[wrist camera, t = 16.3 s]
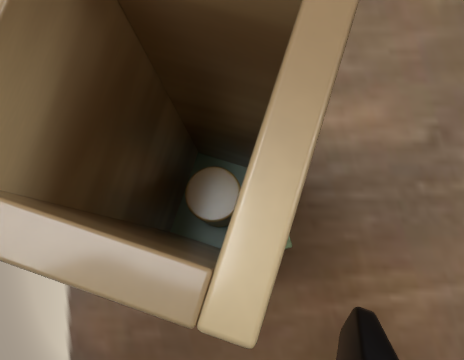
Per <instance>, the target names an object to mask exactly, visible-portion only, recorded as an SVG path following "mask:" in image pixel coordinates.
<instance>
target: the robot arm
mask: <svg viewBox="0 0 464 360" xmlns="http://www.w3.org/2000/svg"><path fill="white" fill-rule="evenodd" d="M336 360H399V359H398V357H397V355H396V353H395V351H394V349H393V347H392V345H391V344H390V342H389V340H388V338H387V336H386V334H385V332H384V330H383V328H382V326H381V324H380V322H379V320H378V318H377V316H376V315H375V314H374V312H372V311H370V310H367V309H364V308H361V307H355V308H354V309H353V310H352V312H351V313H350V315H349V317H348V318H347V320H346V322H345V323H344V325H343V327H342V329H341V332H340V337H339V344H338V351H337V358H336Z"/></svg>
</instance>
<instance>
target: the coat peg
mask: <svg viewBox="0 0 464 360" xmlns="http://www.w3.org/2000/svg"><path fill="white" fill-rule="evenodd" d="M246 170H247V167H243V166H240V165H237V164H234V163H230V162H227V161H224V160H221V159H217V158H214V157H211V156H208V155H204V154H201V153H199V152H198V154H197V157H196V160H195V163H194V165H193V168H192V171H191V174H190V177H189V180H188V183H187V185H186V188H185V191H184V194H183V197H182V200H181V203H180V205H179V208H178V211H177V214H176V217H175V220H174V223H173V225H172V228H171V231H170V232H173V233H176V234H179V235H182V236H185V237H188V238H191V239H194V240H197V241H200V242H203V243H206V244H209V245H212V246H215V247H218V248H221V247H222V244H223V241H224V238H225V235H226V232H227V229H228V226H229V223H230V219H231V216H232V213H233V210H234V207H235V204H236V201H237V198H238V195H239V192H240V189H241V186H242V183H243V180H244V177H245V174H246ZM291 247H292V244H291V240H290V236H289V237H288V240H287V244H286V247H285V249H287V248H291Z"/></svg>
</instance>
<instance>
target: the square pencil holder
mask: <svg viewBox="0 0 464 360" xmlns="http://www.w3.org/2000/svg"><path fill="white" fill-rule="evenodd" d="M358 3H359V0H0V261H2V262H5V263H8V264H10V265H13V266H16V267H19V268H21V269H24V270H27V271H30V272H33V273H35V274H38V275H41V276H44V277H47V278H49V279H52V280H55V281H58V282H60V283H63V284H66V285H69V286H72V287H74V288H77V289H80V290H83V291H86V292H88V293H91V294H94V295H97V296H99V297H102V298H105V299H108V300H111V301H113V302H116V303H119V304H122V305H124V306H127V307H130V308H133V309H136V310H138V311H141V312H144V313H147V314H150V315H152V316H155V317H158V318H161V319H163V320H166V321H169V322H172V323H175V324H177V325H180V326H183V327H186V328H189V329H190V328H194V327H195V325H196V324H197V329H198V330H199V331H200V332H202V333H204V334H207V335H210V336H212V337H215V338H218V339H221V340H223V341H226V342H229V343H232V344H235V345H237V346H240V347H243V348H246V349H251V348H253V347H254V346H255V345H256V344H257V341H258V337H259V334H260V331H261V327H262V324H263V321H264V317H265V314H266V311H267V307H268V304H269V301H270V297H271V294H272V290H273V287H274V284H275V280H276V277H277V274H278V270H279V267H280V264H281V260H282V257H283V254H284V250H285V247H286V244H287V240H288V237H289V234H290V230H291V227H292V224H293V220H294V217H295V214H296V210H297V207H298V204H299V200H300V197H301V194H302V190H303V187H304V184H305V180H306V177H307V174H308V170H309V167H310V163H311V160H312V157H313V153H314V150H315V147H316V143H317V140H318V137H319V133H320V130H321V127H322V123H323V120H324V117H325V113H326V110H327V107H328V103H329V100H330V97H331V93H332V90H333V87H334V83H335V80H336V77H337V73H338V70H339V67H340V63H341V60H342V57H343V53H344V50H345V47H346V43H347V40H348V37H349V33H350V30H351V26H352V23H353V20H354V16H355V13H356V10H357V6H358ZM198 152H199V153H201V154H204V155H208V156H211V157H214V158H217V159H221V160H224V161H227V162H230V163H234V164H237V165H240V166H243V167H247V170H246V174H245V177H244V180H243V183H242V186H241V189H240V192H239V195H238V198H237V201H236V204H235V207H234V210H233V213H232V216H231V219H230V223H229V226H228V229H227V232H226V235H225V238H224V241H223V244H222V247H221V248H218V247H215V246H212V245H209V244H206V243H203V242H200V241H197V240H194V239H191V238H188V237H185V236H182V235H179V234H176V233H173V232H170V231H171V228H172V225H173V223H174V220H175V217H176V214H177V211H178V208H179V205H180V203H181V200H182V197H183V194H184V191H185V188H186V185H187V183H188V180H189V177H190V174H191V171H192V168H193V165H194V163H195V160H196V157H197V154H198Z"/></svg>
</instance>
